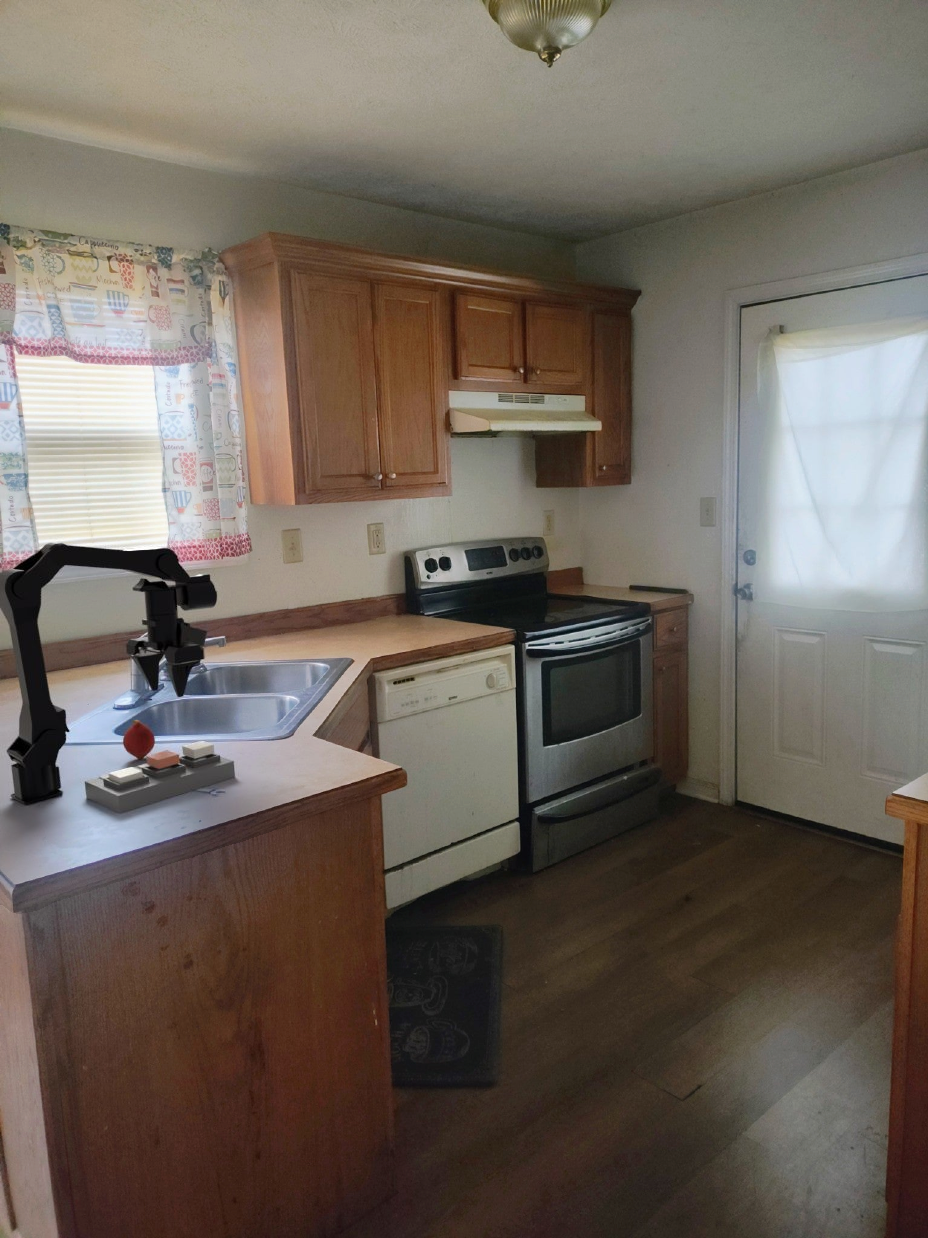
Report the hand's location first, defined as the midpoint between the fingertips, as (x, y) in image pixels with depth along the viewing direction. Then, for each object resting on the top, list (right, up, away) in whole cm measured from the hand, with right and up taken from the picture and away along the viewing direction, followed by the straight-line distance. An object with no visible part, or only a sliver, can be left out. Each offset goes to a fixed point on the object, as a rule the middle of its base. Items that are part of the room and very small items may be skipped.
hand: (167, 693), depth 166 cm
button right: (+9, -10, -9) cm, 16 cm away
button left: (0, -13, -19) cm, 23 cm away
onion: (-7, -14, +4) cm, 16 cm away
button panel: (+4, -16, -13) cm, 20 cm away
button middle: (+4, -11, -14) cm, 18 cm away
